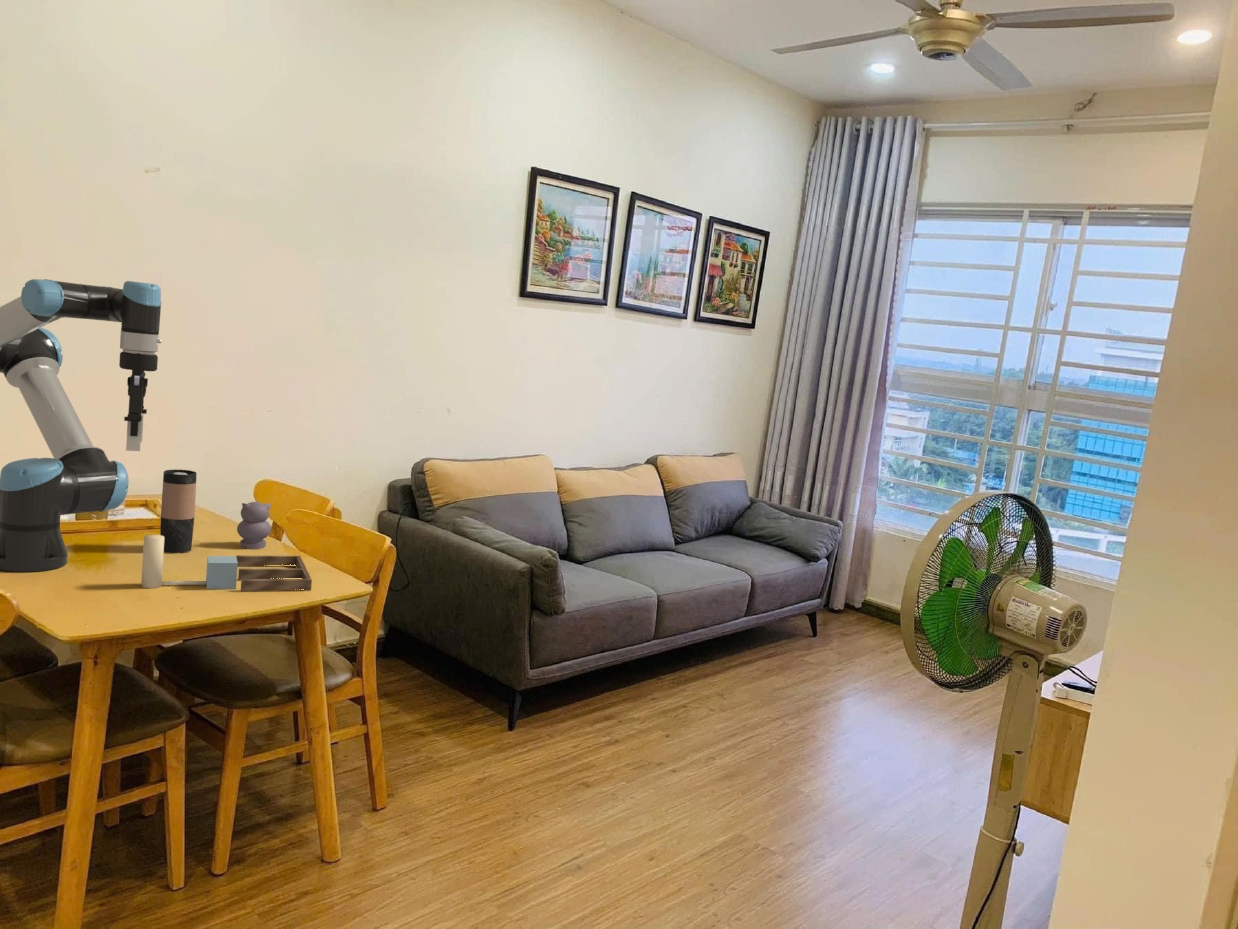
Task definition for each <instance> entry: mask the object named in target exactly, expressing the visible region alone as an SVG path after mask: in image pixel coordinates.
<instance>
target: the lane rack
mask: <svg viewBox="0 0 1238 929" xmlns="http://www.w3.org/2000/svg"><path fill="white" fill-rule="evenodd" d="M235 556H236V558H237V562H238V567H267V566H266V565H282V564H283V565H290V564H291V565H294V564H295V565H296V566H295V568H238V573H237V580H238V581H240V592H263V591H262V590H295V589H296V590H297V589H298V590H299V589H300V590H301V589H304V590H311V591H312V584H313V582H312V581H313V579H312V578H311V577H312V576H311V575H310V573H309V571H308V569H307V567H306V565H305V563H304V561H303V558H302V557H301V555H243V554H241V555H239V554H238V555H235ZM264 565H265V566H264ZM296 567H297V568H296ZM271 578H272V579H271ZM273 578H274V579H273ZM277 578H278V579H277ZM279 578H280V579H279ZM281 578H282V579H281ZM283 578H302V579H283ZM259 590H260V591H259Z"/></svg>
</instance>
